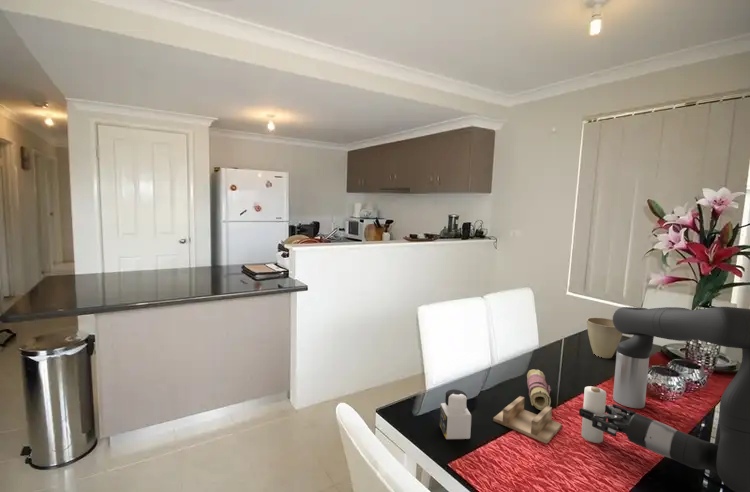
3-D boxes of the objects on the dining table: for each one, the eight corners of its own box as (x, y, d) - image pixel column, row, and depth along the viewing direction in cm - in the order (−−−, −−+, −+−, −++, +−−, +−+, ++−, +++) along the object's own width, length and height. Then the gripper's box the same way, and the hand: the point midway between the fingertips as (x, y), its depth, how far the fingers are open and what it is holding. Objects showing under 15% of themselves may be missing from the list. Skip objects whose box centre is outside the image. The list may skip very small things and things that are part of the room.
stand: (510, 407, 125) (511, 392, 124) (561, 427, 114) (562, 411, 113) (493, 420, 116) (494, 405, 116) (546, 443, 105) (548, 426, 104)
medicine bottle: (439, 425, 113) (441, 386, 112) (462, 425, 113) (464, 386, 112) (445, 439, 106) (447, 398, 104) (470, 439, 106) (472, 398, 105)
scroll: (558, 411, 120) (552, 385, 139) (548, 388, 120) (544, 365, 139) (533, 416, 123) (531, 390, 141) (524, 394, 123) (523, 371, 142)
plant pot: (577, 349, 181) (579, 317, 179) (605, 349, 182) (608, 317, 181) (598, 362, 166) (601, 326, 165) (629, 361, 168) (632, 326, 166)
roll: (584, 429, 112) (587, 382, 111) (604, 437, 109) (608, 388, 108) (578, 437, 109) (582, 388, 107) (600, 445, 105) (603, 395, 104)
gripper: (664, 413, 100) (598, 388, 114) (643, 430, 92) (575, 401, 105) (661, 439, 101) (596, 412, 114) (640, 459, 93) (573, 427, 106)
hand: (586, 407), depth 110 cm, fingers open, 7 cm apart
